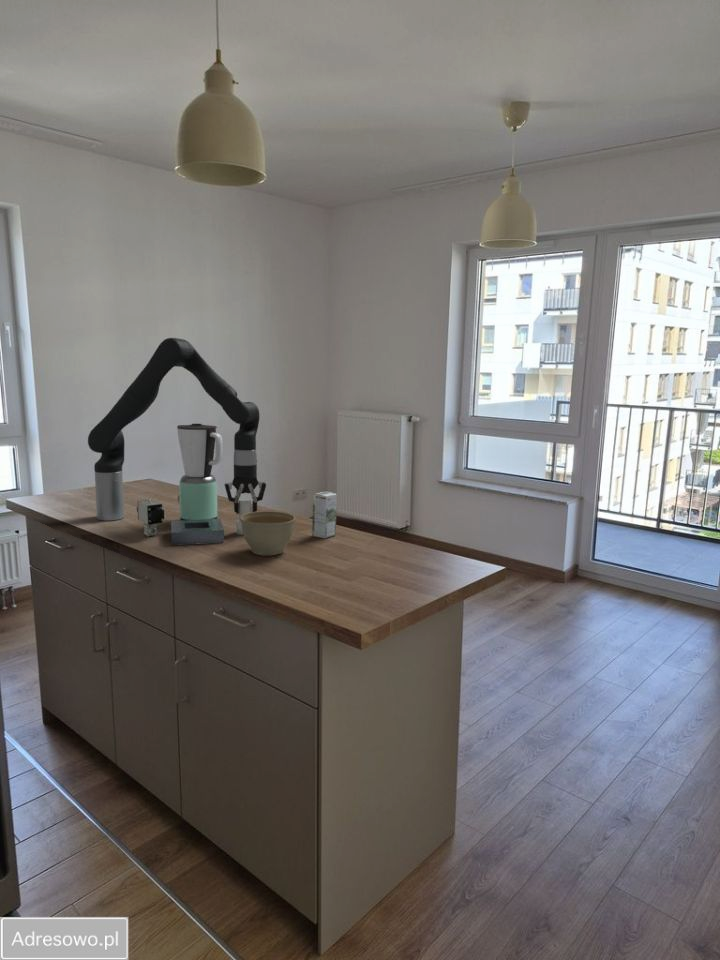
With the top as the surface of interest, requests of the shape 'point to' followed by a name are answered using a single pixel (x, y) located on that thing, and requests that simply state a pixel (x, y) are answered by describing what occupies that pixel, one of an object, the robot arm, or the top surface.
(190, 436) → the mint green blender
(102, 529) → the top surface
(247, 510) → the white stepped cylindrical peg
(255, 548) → the planter bowl
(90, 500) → the top surface
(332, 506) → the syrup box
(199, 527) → the bore block
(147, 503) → the pneumatic valve
